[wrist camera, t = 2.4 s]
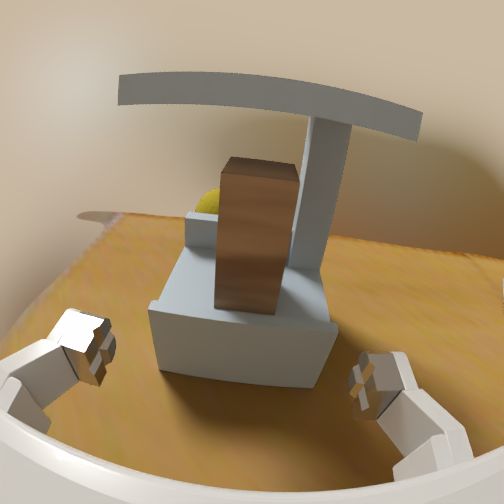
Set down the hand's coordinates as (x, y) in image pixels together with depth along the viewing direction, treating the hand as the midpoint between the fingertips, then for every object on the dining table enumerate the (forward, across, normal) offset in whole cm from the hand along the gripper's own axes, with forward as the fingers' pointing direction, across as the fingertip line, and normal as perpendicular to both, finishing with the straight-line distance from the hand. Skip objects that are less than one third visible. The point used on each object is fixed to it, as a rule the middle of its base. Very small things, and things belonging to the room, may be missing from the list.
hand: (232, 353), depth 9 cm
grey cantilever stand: (+13, 0, +13) cm, 18 cm away
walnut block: (+12, 0, +7) cm, 14 cm away
